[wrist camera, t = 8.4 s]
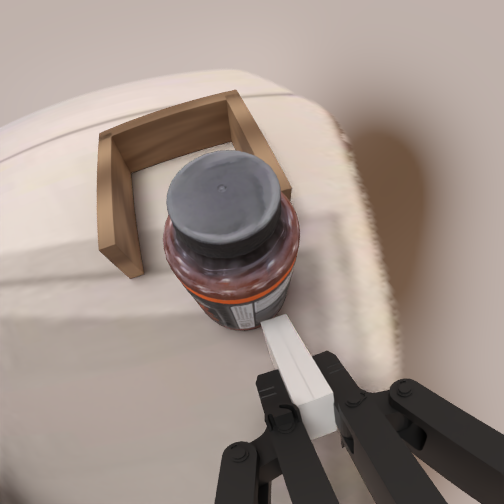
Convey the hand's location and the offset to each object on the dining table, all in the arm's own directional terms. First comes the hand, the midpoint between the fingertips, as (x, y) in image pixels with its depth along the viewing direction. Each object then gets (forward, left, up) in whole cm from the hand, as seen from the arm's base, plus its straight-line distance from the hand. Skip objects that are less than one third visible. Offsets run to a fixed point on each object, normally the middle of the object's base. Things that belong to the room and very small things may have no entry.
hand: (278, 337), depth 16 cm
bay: (+13, +4, -3) cm, 14 cm away
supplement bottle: (+4, +1, -3) cm, 5 cm away
